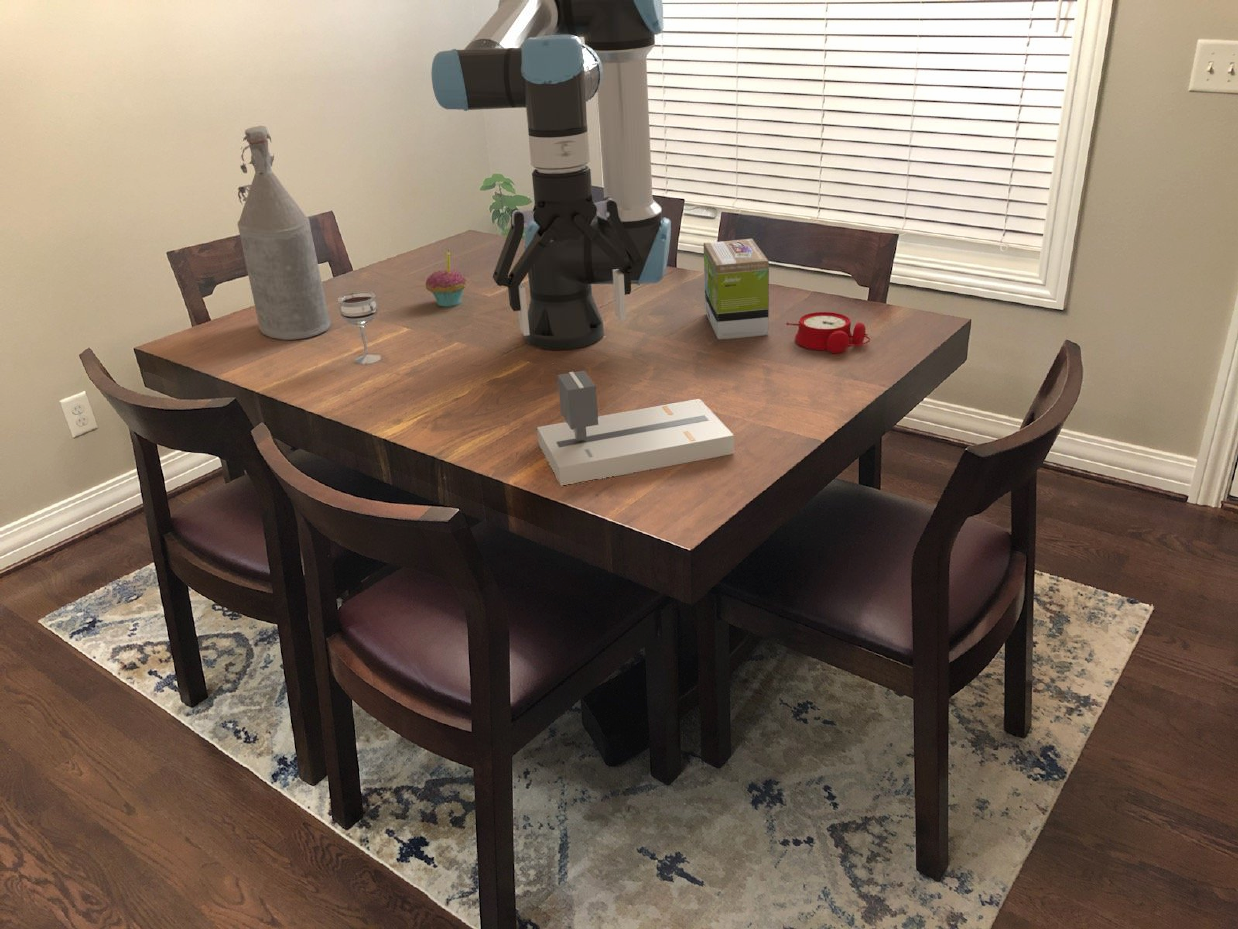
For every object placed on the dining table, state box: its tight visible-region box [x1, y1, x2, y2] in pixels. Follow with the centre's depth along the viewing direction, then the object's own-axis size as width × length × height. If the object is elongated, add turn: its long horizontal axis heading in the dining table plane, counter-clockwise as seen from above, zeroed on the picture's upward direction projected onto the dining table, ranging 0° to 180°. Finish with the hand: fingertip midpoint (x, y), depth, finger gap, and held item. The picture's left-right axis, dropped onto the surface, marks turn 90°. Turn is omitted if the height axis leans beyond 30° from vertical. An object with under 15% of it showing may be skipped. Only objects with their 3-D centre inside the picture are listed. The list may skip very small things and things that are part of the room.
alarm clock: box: [785, 311, 871, 355], centre depth 184 cm, size 10×6×15 cm
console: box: [536, 398, 735, 486], centre depth 150 cm, size 14×26×3 cm, turn 107°
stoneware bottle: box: [236, 125, 331, 341], centre depth 198 cm, size 13×17×40 cm
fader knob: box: [557, 370, 598, 441], centre depth 145 cm, size 6×4×9 cm, turn 17°
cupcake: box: [425, 248, 467, 308], centre depth 214 cm, size 9×8×12 cm
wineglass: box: [337, 291, 382, 365], centre depth 187 cm, size 7×7×12 cm
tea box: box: [703, 238, 770, 340], centre depth 192 cm, size 15×10×15 cm
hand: (573, 325), depth 140 cm, fingers open, 13 cm apart
